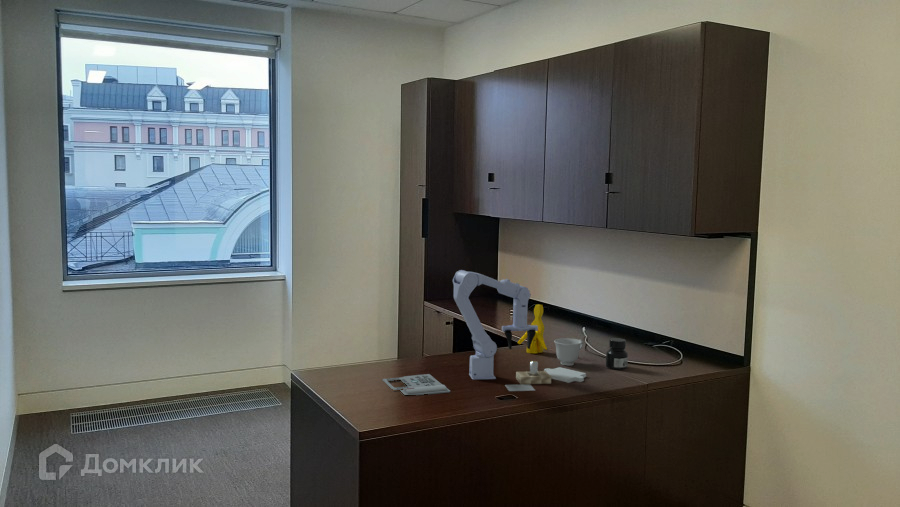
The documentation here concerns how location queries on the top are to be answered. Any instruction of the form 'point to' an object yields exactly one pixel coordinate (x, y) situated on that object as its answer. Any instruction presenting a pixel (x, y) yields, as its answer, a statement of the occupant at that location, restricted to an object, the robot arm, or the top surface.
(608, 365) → the ink bottle
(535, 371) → the peg
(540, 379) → the hole block
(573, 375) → the mounting plate
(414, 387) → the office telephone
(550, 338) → the top surface
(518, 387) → the mat
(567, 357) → the teacup
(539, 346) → the figure statuette
